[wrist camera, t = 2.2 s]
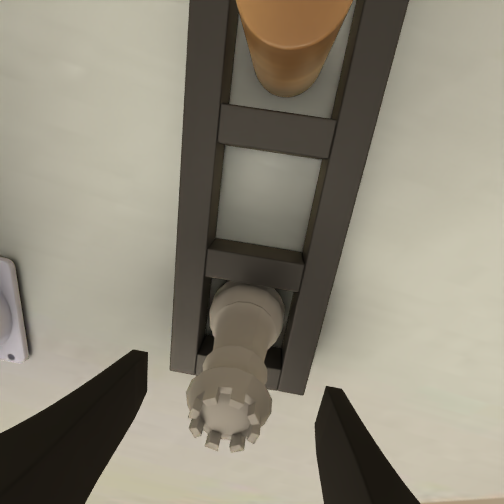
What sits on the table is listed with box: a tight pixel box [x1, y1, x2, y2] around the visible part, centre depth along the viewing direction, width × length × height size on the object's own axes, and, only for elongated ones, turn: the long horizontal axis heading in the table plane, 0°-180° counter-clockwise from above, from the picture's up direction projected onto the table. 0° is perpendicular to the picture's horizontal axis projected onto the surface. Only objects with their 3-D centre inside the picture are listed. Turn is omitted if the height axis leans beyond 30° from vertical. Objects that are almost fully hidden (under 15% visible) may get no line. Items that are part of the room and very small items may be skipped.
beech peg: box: [236, 0, 353, 97], centre depth 10 cm, size 3×3×6 cm
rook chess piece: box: [186, 281, 285, 453], centre depth 13 cm, size 4×4×8 cm
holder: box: [170, 0, 409, 395], centre depth 14 cm, size 8×21×2 cm, turn 172°
